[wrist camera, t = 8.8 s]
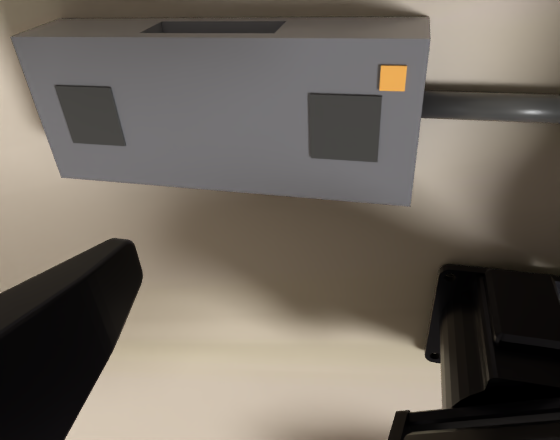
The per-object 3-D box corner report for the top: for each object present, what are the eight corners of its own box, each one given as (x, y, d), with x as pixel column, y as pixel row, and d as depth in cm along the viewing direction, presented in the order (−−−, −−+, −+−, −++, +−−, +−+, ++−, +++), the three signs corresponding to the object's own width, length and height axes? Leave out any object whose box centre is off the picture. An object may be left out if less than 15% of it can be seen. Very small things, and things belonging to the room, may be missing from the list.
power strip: (583, 179, 19) (607, 224, 16) (98, 147, 23) (60, 178, 21) (641, 15, 15) (684, 40, 13) (59, 18, 20) (8, 37, 18)
